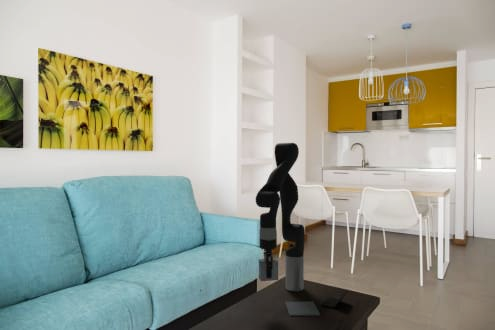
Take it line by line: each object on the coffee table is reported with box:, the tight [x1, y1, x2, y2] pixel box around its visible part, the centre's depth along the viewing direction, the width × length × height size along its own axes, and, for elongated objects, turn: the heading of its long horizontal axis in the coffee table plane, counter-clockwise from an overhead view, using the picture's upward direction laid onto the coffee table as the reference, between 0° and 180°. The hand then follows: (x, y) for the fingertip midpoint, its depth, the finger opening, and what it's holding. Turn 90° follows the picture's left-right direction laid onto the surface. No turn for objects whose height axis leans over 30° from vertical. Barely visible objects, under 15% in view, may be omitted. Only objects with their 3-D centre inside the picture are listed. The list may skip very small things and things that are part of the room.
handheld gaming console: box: [321, 290, 348, 310], centre depth 165 cm, size 12×7×10 cm
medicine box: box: [258, 257, 279, 282], centre depth 158 cm, size 8×4×9 cm, turn 100°
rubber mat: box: [284, 301, 321, 317], centre depth 160 cm, size 14×13×1 cm
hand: (268, 275), depth 158 cm, fingers closed on medicine box, 4 cm apart
